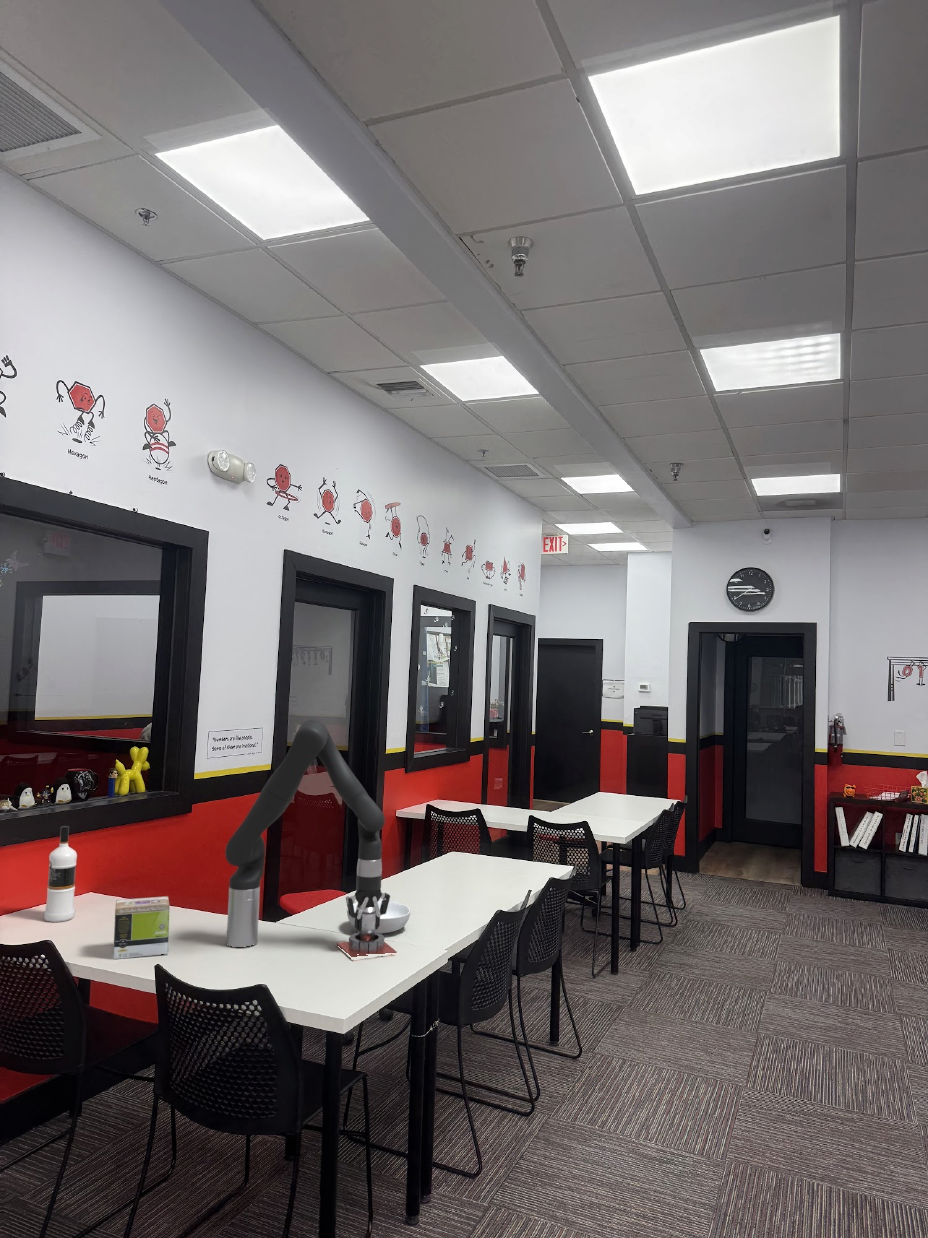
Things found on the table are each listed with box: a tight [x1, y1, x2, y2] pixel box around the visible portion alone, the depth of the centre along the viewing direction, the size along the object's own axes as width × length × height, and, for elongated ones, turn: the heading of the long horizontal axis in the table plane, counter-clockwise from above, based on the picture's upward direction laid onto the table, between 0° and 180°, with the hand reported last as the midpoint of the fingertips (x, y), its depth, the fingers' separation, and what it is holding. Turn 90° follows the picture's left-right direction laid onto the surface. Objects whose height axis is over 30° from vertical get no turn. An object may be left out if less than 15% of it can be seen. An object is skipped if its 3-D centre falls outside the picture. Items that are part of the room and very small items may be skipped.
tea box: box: [113, 895, 170, 960], centre depth 252 cm, size 15×10×15 cm
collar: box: [336, 932, 398, 957], centre depth 260 cm, size 14×14×4 cm
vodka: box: [43, 825, 78, 923], centre depth 282 cm, size 9×9×30 cm
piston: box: [358, 906, 376, 941], centre depth 260 cm, size 5×5×10 cm
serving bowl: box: [346, 899, 411, 935], centre depth 281 cm, size 21×21×7 cm
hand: (366, 929), depth 260 cm, fingers closed on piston, 5 cm apart
